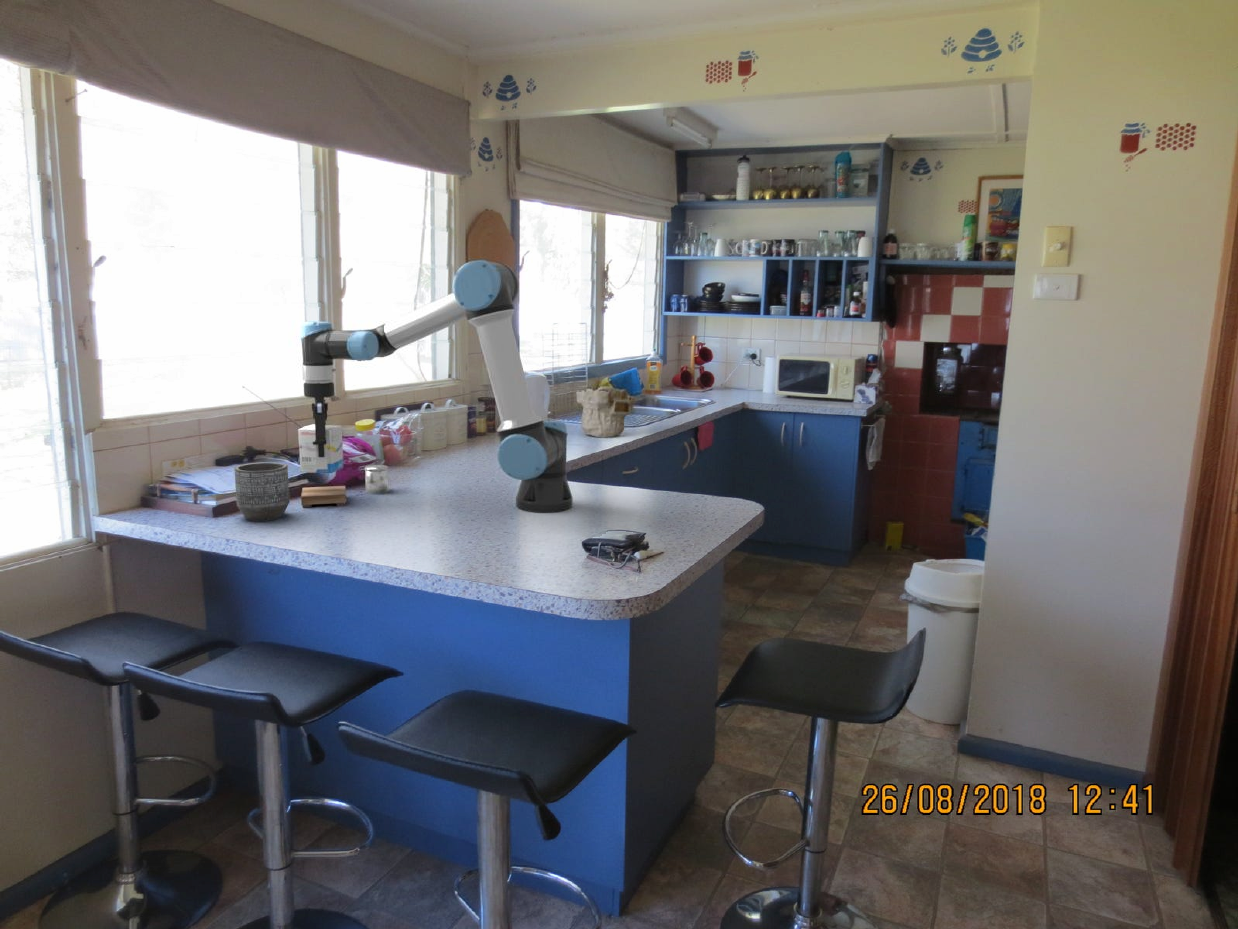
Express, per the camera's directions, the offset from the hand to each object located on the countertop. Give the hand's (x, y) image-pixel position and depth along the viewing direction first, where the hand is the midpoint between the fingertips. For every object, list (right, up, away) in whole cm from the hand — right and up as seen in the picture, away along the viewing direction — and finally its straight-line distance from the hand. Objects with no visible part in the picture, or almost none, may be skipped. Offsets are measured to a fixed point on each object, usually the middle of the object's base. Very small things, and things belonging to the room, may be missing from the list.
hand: (322, 465), depth 228 cm
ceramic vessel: (+74, +12, +126) cm, 147 cm away
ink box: (0, -1, 0) cm, 1 cm away
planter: (-9, -13, -14) cm, 22 cm away
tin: (+10, -7, +16) cm, 20 cm away
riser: (0, -10, +2) cm, 10 cm away
